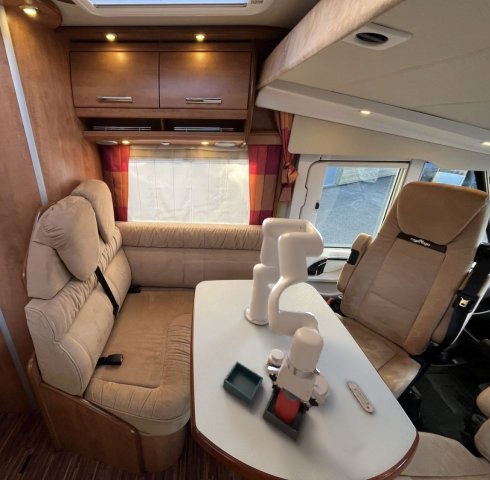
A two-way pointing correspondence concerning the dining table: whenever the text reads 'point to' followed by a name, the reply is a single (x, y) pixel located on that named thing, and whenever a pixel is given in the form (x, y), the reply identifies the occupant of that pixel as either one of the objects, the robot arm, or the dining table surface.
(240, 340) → the dining table surface
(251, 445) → the dining table surface
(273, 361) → the pill bottle
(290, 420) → the beer can
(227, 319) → the dining table surface
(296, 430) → the can bin
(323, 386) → the lid
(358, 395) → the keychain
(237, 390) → the pill bin
